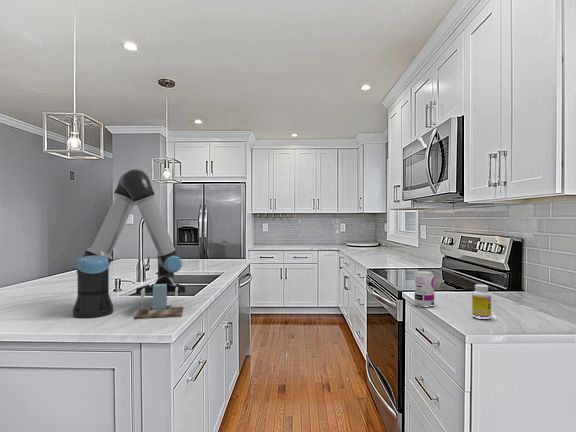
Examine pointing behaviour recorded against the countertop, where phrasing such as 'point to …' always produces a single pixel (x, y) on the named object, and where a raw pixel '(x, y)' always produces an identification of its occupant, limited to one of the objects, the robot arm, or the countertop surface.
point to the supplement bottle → (481, 301)
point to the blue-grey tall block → (160, 297)
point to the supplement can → (424, 288)
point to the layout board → (159, 312)
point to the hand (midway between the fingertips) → (159, 293)
